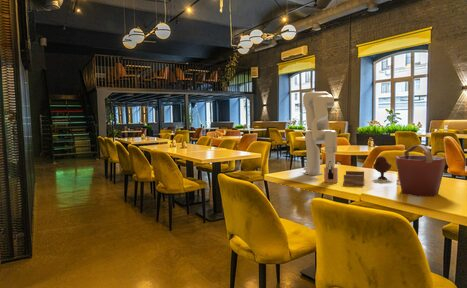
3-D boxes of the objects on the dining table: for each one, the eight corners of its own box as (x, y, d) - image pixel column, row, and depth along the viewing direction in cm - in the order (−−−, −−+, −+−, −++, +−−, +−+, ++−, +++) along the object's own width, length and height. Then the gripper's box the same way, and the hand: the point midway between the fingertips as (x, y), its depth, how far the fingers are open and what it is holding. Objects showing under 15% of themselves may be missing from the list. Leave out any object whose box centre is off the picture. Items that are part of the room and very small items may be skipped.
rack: (345, 179, 211) (345, 170, 210) (364, 180, 206) (364, 171, 206) (342, 184, 195) (342, 175, 195) (364, 185, 190) (364, 175, 190)
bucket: (394, 187, 184) (394, 143, 183) (439, 189, 176) (439, 143, 174) (399, 196, 161) (399, 147, 160) (451, 199, 153) (451, 147, 152)
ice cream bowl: (392, 180, 204) (393, 156, 203) (373, 180, 208) (373, 156, 207) (390, 177, 214) (390, 155, 213) (372, 177, 218) (372, 155, 217)
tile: (324, 181, 209) (324, 167, 208) (337, 181, 206) (337, 167, 205) (324, 181, 206) (324, 167, 206) (337, 182, 203) (337, 168, 202)
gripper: (326, 148, 214) (326, 176, 215) (322, 151, 199) (323, 180, 200) (338, 148, 211) (338, 176, 212) (335, 151, 196) (335, 181, 197)
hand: (331, 178), depth 206 cm, fingers closed on tile, 2 cm apart
